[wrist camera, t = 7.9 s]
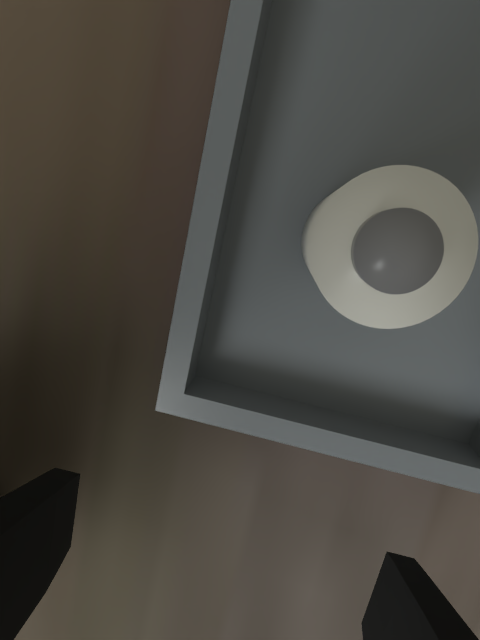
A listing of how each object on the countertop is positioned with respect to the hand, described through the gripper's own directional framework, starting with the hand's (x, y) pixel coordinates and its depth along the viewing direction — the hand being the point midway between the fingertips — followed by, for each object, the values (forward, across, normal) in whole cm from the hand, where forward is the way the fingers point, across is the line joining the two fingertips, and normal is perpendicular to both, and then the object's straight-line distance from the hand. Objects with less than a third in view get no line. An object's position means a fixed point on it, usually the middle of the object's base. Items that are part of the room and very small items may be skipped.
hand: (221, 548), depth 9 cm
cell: (+9, -2, -7) cm, 12 cm away
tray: (+9, -4, -9) cm, 13 cm away
